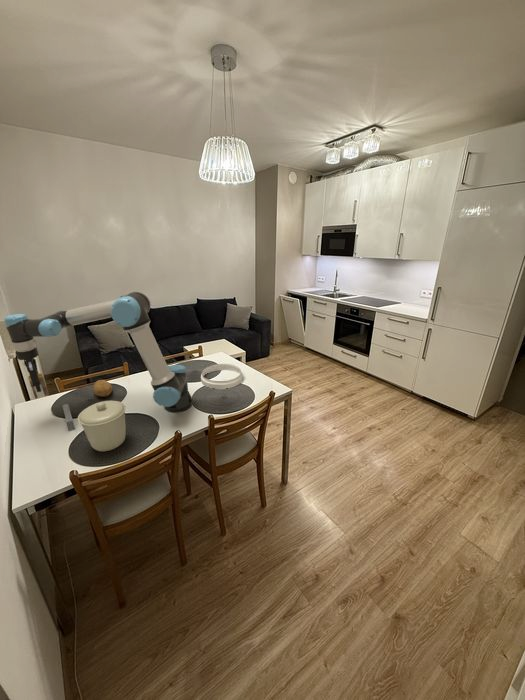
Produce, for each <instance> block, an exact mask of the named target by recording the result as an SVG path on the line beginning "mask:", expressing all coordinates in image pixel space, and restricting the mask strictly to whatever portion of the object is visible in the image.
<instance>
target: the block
mask: <svg viewBox="0 0 525 700" xmlns="http://www.w3.org/2000/svg"><path fill="white" fill-rule="evenodd" d="M38 378H39V381H40V383H41V386H42V389H43V392H44V395H45V396H44V397H47V396H49V390H48V388H47V384H46V382H45V379H44V375H43V372H38ZM28 381H29V384H30V387H31V390H32V392H33V396H34V398H35V400H37V399H39V398H38V397H37V394H36V392H35V389H34V386H33V387H32V385H33V383H32V380H31V377H30V375H28Z"/></svg>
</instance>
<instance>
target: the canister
mask: <svg viewBox="0 0 525 700" xmlns="http://www.w3.org/2000/svg"><path fill="white" fill-rule="evenodd" d="M126 409H127V407H126V405H125V403H123V402H122V401H118V400H104V401H100V402H99V401H98V402H96V403H93V404H91V405H89V406H88V407H86V408H84V409H83V410H82V411H81V412H80V413H79V414H78V416H77V422H78V423H79V424H80V425H81V426H82V429H83V431H84V433H85V436H86V438H87V440H88V442H89V444H90V446H91V447H92V448H93V449H94V450H95V451H98V452H107V451H108V452H109V451H112V450H115V449H116V448H118V447H120V446H121V445H122V444H123V443H124V441H125V439H126V434H127V429H126V411H127V410H126Z"/></svg>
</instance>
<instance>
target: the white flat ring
mask: <svg viewBox="0 0 525 700" xmlns="http://www.w3.org/2000/svg"><path fill="white" fill-rule="evenodd" d="M216 371H231V372H235V373H238V376H237V377H235V378H231V379H227V380H211V379H208V378H206V377H205V374H206V375H207V373H208V374H210V373H212V372H216ZM242 381H243V372H242V370H241V368H240V367H239V366H237V365H235V364H231V363H230V364H229V363H217V364H216V363H215V364H212V365H209V366H207V367H205V368H204V369H203V370H202V372H201V375H200V382H201V384H202V385H203V387H204V386H205V387H207V388H208V387H209V389H212V388H215V389H214V390H227V389H226V388H228V389H232V388H234V387H236V386H238V385H240V384H241V383H242Z"/></svg>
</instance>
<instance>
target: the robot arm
mask: <svg viewBox="0 0 525 700" xmlns="http://www.w3.org/2000/svg"><path fill="white" fill-rule="evenodd" d="M150 310H151V301H150V299H149V298H148V296H146V294H144V293H143V292H139V291H133V292H130V293H128V294H125V295H124V294H123V295H121V296H119V297H118V298H117V299H113V300H108V301H107V300H106V301H104V302H100V303H99V302H98V303H94V304H89V305H86V306H81V307H76V308H72V309H64V310H59V311H56V312H55V313H52V314H49V315H47V316H44V317H42V318H39V319H29V318H28V317H27V314H25V313H17V314H16V313H15V314H10V315H9V314H8V315H7V316H5V317H4V323H5V328H6V330H7V333H8V334H9V335H8V336H9V338H10V341H11V344H12V347H13V350H14V351H15V355H16V357H17V358H16V359H17V360H20V361H23V362H24V366H25V368H26V370H27V373H28V374H29V376H30V377H31V380H32V383H33V385H32V387H33V386H34V389H35V392H36V394H37V397H38V398H37V399H40V398H44V397H46V396H45V395H44V392H43V389H42V386H41V383H40V381H39V378H38V374H39V371H38V366H37V360H36V359H35V358H37V357H39V350H38V348H37V347H36V343H37V340H35V339H34V337H35V338H36V337H39V338H41V337H42V338H43V337H45V338H47V337H48V338H50V337H57V336H58V335H60V333H61V331H62V329H65V328H69V327H73V326H76V325H83V324H85V323H86V324H87V323H91V322H96V321H99V320H100V321H101V320H106V319H110V318H112V320H113V322H114V323H115V324H117V325H119V326H121V327H122V328H123V329H122V330H123V331H124V332H126V333H128V334H130V337H131V338H132V340H133V343H134V345H135V346H136V349H137V351H138V353H139V355H140V357H141V359H142V361H143V363H144V365H145V367H146V369H147V371H148V374H149V375H150V377H151V382H150V385H151V387H152V389H153V395H152V398H153V401H154V402H155V403H156V404H157V405H159V406H162V407H164V410H165V411H167V412H168V413H170V412H171V413H181V412H183V411H187V410H188V409H190V408H191V407H192V406H193V402H194V401H193V397H192V395H191V394H190V391H189V386H188V385H189V384H188V373H187V368H186V366H184V365H181V364H171V365H168V364H167V362H166V360H165V357H164V356H163V354H162V351H161V349H160V347H159V344H158V343H157V340H156V338H155V336H154V334H153V332H152V329H151V328H150V323H151V319H150V317H149V314H148V313H149V312H150Z"/></svg>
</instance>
